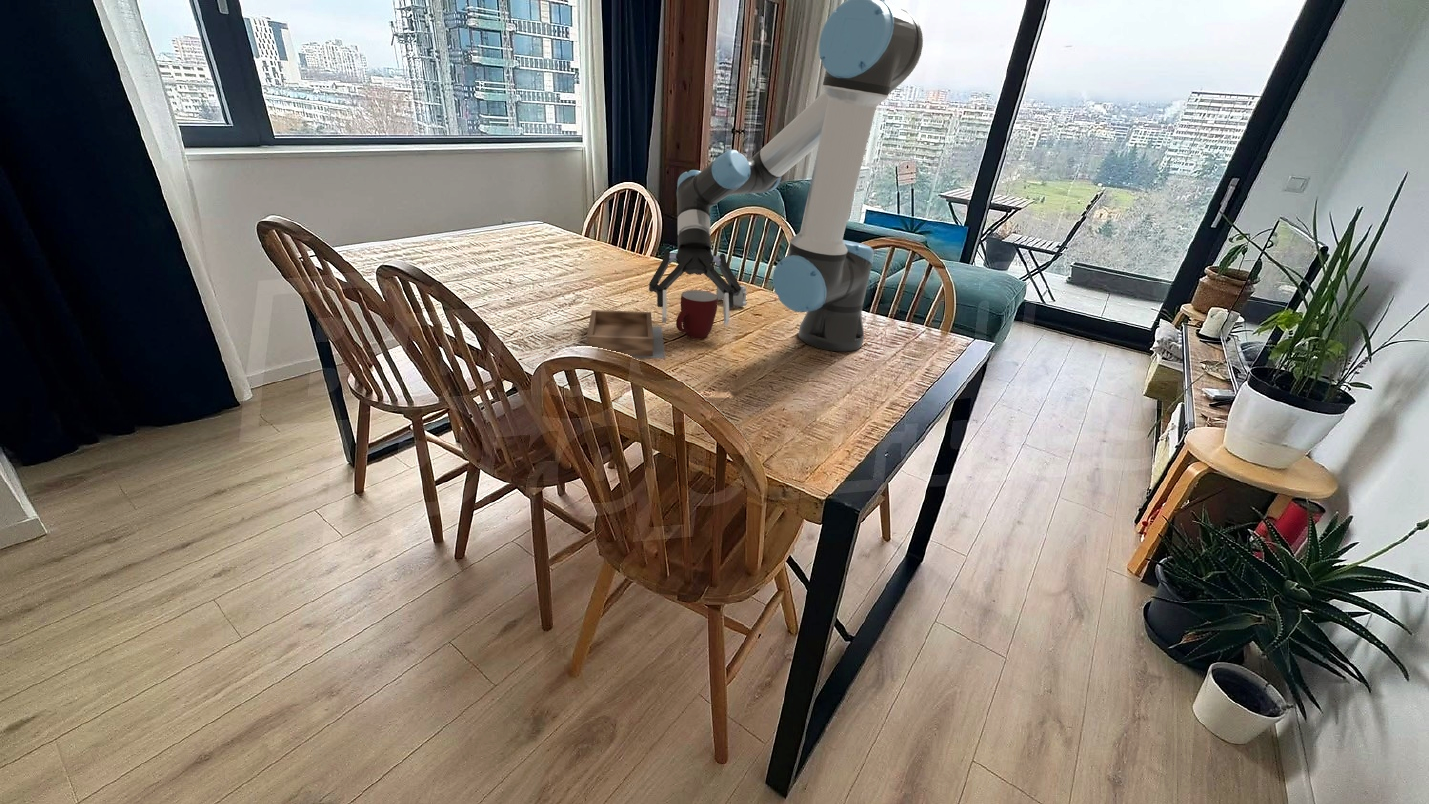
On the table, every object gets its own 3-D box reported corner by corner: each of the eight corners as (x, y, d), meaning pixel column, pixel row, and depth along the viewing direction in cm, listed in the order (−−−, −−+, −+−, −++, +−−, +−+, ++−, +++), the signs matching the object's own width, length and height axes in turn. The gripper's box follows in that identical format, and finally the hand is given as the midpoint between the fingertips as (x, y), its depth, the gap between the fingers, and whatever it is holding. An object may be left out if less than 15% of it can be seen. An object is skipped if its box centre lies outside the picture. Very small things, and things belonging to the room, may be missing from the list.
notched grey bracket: (719, 299, 157) (747, 308, 151) (715, 300, 156) (744, 309, 150) (720, 278, 154) (750, 287, 149) (717, 279, 153) (746, 288, 148)
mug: (694, 351, 122) (698, 306, 118) (664, 341, 126) (666, 297, 121) (720, 338, 130) (725, 296, 126) (692, 329, 134) (694, 287, 129)
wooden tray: (650, 327, 130) (650, 312, 128) (652, 356, 116) (653, 338, 114) (592, 325, 128) (591, 309, 126) (587, 354, 114) (586, 336, 112)
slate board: (661, 330, 131) (661, 326, 131) (665, 362, 116) (665, 358, 115) (590, 328, 129) (590, 324, 128) (584, 360, 113) (584, 356, 113)
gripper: (744, 248, 135) (748, 330, 129) (638, 241, 131) (637, 326, 125) (751, 229, 128) (755, 316, 122) (639, 222, 124) (638, 311, 118)
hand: (695, 321), depth 124 cm, fingers open, 13 cm apart
